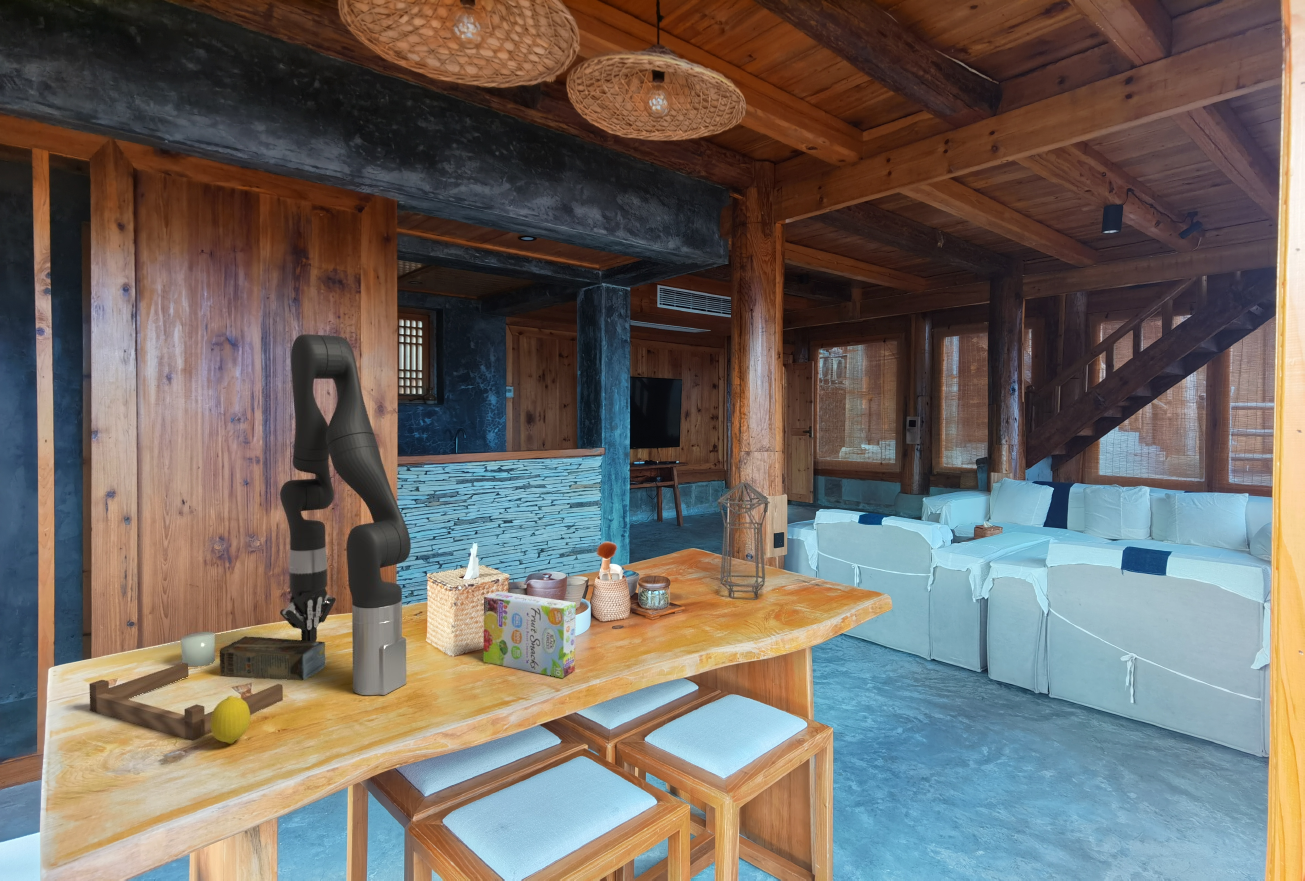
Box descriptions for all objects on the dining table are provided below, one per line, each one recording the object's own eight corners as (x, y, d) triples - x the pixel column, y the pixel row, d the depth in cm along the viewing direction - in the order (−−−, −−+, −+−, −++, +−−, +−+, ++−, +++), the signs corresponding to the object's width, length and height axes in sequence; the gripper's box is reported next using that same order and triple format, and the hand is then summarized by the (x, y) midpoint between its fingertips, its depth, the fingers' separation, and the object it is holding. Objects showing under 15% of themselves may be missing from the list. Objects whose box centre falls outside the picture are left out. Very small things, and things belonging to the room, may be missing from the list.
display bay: (282, 700, 125) (282, 674, 125) (192, 740, 110) (192, 711, 110) (184, 676, 136) (184, 652, 136) (90, 710, 120) (89, 683, 120)
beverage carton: (303, 682, 134) (303, 651, 134) (217, 678, 136) (216, 646, 136) (326, 667, 142) (326, 637, 142) (245, 663, 144) (244, 634, 144)
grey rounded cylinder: (221, 660, 145) (221, 634, 145) (193, 670, 139) (193, 642, 139) (203, 656, 147) (202, 630, 147) (175, 666, 142) (174, 638, 141)
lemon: (221, 755, 105) (220, 706, 105) (204, 746, 108) (203, 698, 108) (257, 741, 110) (256, 694, 109) (240, 732, 113) (239, 686, 112)
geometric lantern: (716, 601, 195) (716, 483, 194) (719, 588, 210) (719, 479, 210) (770, 603, 192) (770, 484, 192) (769, 590, 208) (769, 480, 207)
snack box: (576, 670, 141) (577, 601, 141) (562, 679, 136) (563, 608, 136) (497, 654, 150) (497, 589, 150) (481, 662, 145) (481, 595, 145)
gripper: (293, 576, 139) (294, 656, 139) (345, 563, 151) (345, 637, 152) (269, 572, 142) (270, 651, 142) (321, 560, 154) (322, 633, 155)
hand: (309, 644), depth 147 cm, fingers closed
